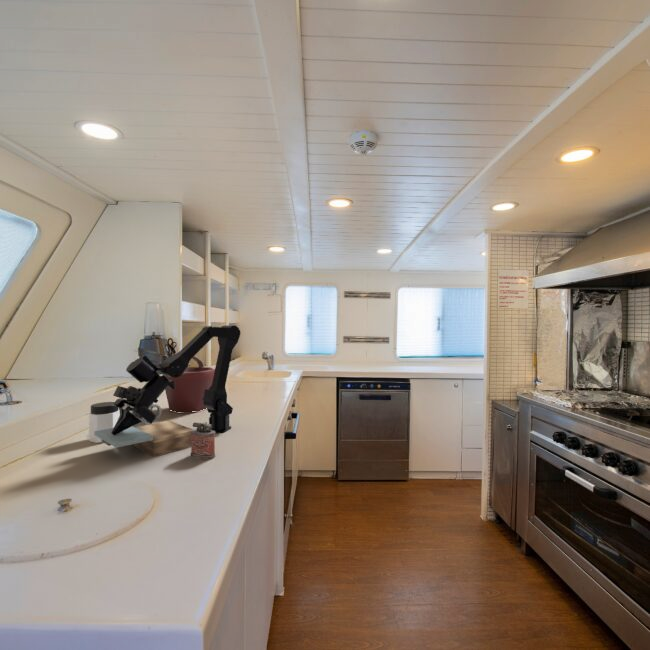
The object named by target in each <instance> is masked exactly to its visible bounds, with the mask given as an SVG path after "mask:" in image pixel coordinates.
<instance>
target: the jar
mask: <svg viewBox="0 0 650 650" xmlns="http://www.w3.org/2000/svg"><path fill="white" fill-rule="evenodd" d="M114 402H115V401H103V402H96V403H93V404H91V405H90V413H88V441H89V442H91V443H95V444H101V443H103V442H102V439H100V438H99V437H97V436H95V435H94V431H97V430H103V429H109V428H114V426H115V424H116V422H117V420H118V418H119V416H120V410H119V408H118V407H117V406H116V405H114V404H113V403H114Z"/></svg>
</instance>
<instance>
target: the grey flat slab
mask: <svg viewBox="0 0 650 650" xmlns="http://www.w3.org/2000/svg"><path fill="white" fill-rule="evenodd" d="M112 430H113V428H109V429H103V430H97V431H94V435H95V436H97V437H99V438H100V439H102V442H101V443H103V444H105V445H107V446H112V447H114V448H121V447H126V446H132V444H136V443H141V442H145V441H150V440H153V435H150V434H148V433H146V432H144V431H141V430H139V429H137V428H135V427H130V428H128V429H126V430H124V431H122V432H120V433H118V434H116V435H113V434H112V433H111V432H112Z"/></svg>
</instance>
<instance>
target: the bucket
mask: <svg viewBox="0 0 650 650" xmlns="http://www.w3.org/2000/svg"><path fill="white" fill-rule="evenodd" d="M191 360H193V361H194V362H196V364H197V366H190V367H189V366H188V367H187V368H186V370H185V371H184V373H183V374H182V375H181V376H180V377H177V378H173V377H168V376H165V377H166V378H167V379H168V380H169V381H170V380H172V381H174V387H175V388H174V389H170V388H168V387H167V388H166V389H165V390H164V391H165V395H166V400H167V404H168V410H169V411H170V410H172V411H176V412H192V411H200V410H203V409H206V407H205V406H204V404H203V402H204V400H202V399H203V397H204V391H205V389H208V390H209V388H210V387H211V385H212V382H213V377H214V372H215V368H214V367H211V366H210V367H209V366H207V367H206V366H205V363H204V362H203V360H202V359H200V358H199V357H197V356H196V355H195V356H194V357H193V358H192V359H191ZM162 376H164V375H163V374H162ZM206 410H207V409H206ZM203 411H204V410H203ZM200 412H201V411H200Z"/></svg>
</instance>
